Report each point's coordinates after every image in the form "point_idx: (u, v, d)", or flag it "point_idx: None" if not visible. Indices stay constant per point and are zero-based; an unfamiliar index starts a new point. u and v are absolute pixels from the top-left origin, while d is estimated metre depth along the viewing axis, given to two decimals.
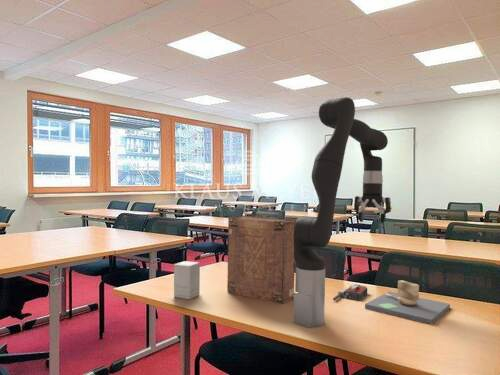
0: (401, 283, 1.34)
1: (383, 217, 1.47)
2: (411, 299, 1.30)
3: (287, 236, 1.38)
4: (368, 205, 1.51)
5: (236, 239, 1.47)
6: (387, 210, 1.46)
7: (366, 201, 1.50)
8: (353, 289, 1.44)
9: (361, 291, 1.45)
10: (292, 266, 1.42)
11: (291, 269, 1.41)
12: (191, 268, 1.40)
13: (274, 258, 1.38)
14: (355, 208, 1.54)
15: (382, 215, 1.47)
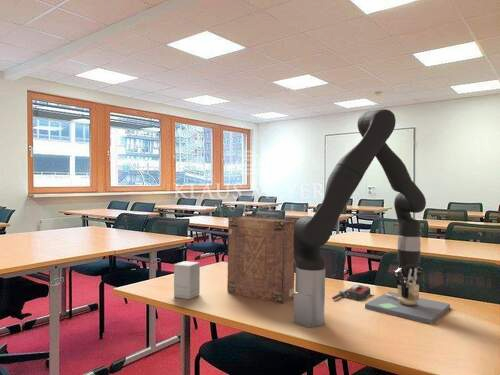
0: None
1: None
2: (411, 299, 1.30)
3: (287, 236, 1.38)
4: (410, 274, 1.32)
5: (236, 239, 1.47)
6: (418, 281, 1.34)
7: (410, 271, 1.31)
8: (354, 289, 1.44)
9: (362, 291, 1.44)
10: (292, 266, 1.42)
11: (291, 269, 1.41)
12: (191, 268, 1.40)
13: (274, 258, 1.38)
14: (403, 283, 1.30)
15: None
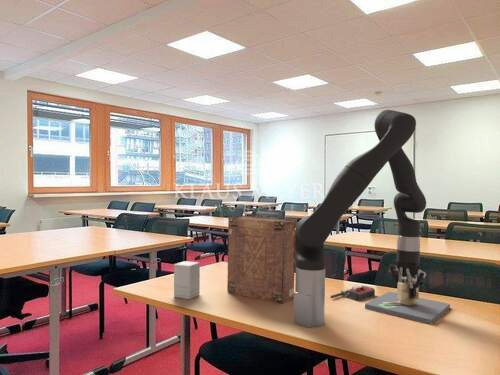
0: (405, 285, 1.31)
1: None
2: (416, 297, 1.33)
3: (287, 236, 1.38)
4: None
5: (236, 239, 1.47)
6: None
7: None
8: (354, 289, 1.44)
9: (364, 292, 1.44)
10: (292, 266, 1.42)
11: (291, 269, 1.41)
12: (191, 268, 1.40)
13: (274, 258, 1.38)
14: None
15: None
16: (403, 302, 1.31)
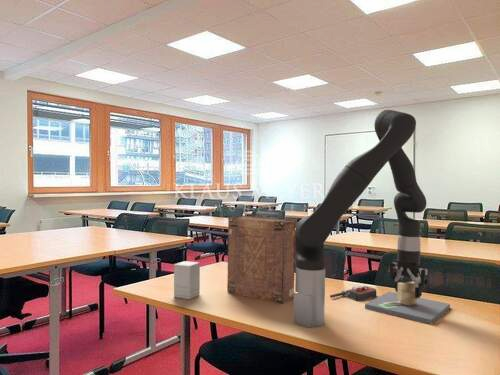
0: (406, 285, 1.31)
1: None
2: None
3: (287, 236, 1.38)
4: None
5: (235, 239, 1.47)
6: None
7: None
8: (355, 289, 1.44)
9: (364, 292, 1.43)
10: (292, 266, 1.42)
11: (291, 269, 1.41)
12: (191, 268, 1.40)
13: (274, 258, 1.38)
14: None
15: None
16: (403, 302, 1.31)
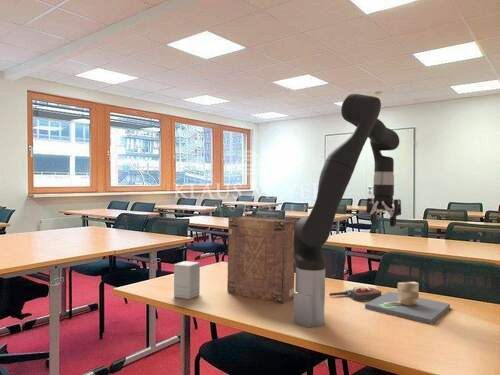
0: (406, 285, 1.31)
1: None
2: (416, 297, 1.33)
3: (287, 236, 1.38)
4: None
5: (236, 239, 1.47)
6: None
7: None
8: (355, 289, 1.43)
9: (365, 293, 1.42)
10: (292, 266, 1.42)
11: (291, 269, 1.41)
12: (191, 268, 1.40)
13: (274, 258, 1.38)
14: None
15: None
16: (403, 302, 1.31)
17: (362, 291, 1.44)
